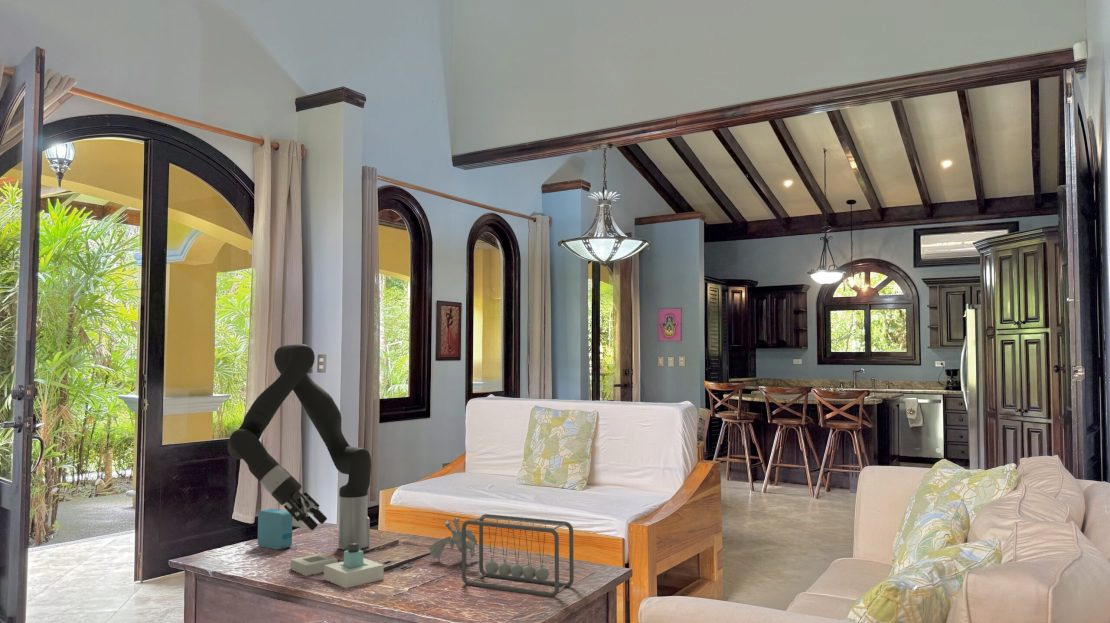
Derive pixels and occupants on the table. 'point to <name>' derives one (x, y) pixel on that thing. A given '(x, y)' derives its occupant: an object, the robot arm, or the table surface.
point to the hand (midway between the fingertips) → (320, 524)
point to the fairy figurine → (454, 541)
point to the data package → (274, 529)
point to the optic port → (353, 573)
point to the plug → (353, 556)
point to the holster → (312, 563)
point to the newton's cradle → (518, 569)
